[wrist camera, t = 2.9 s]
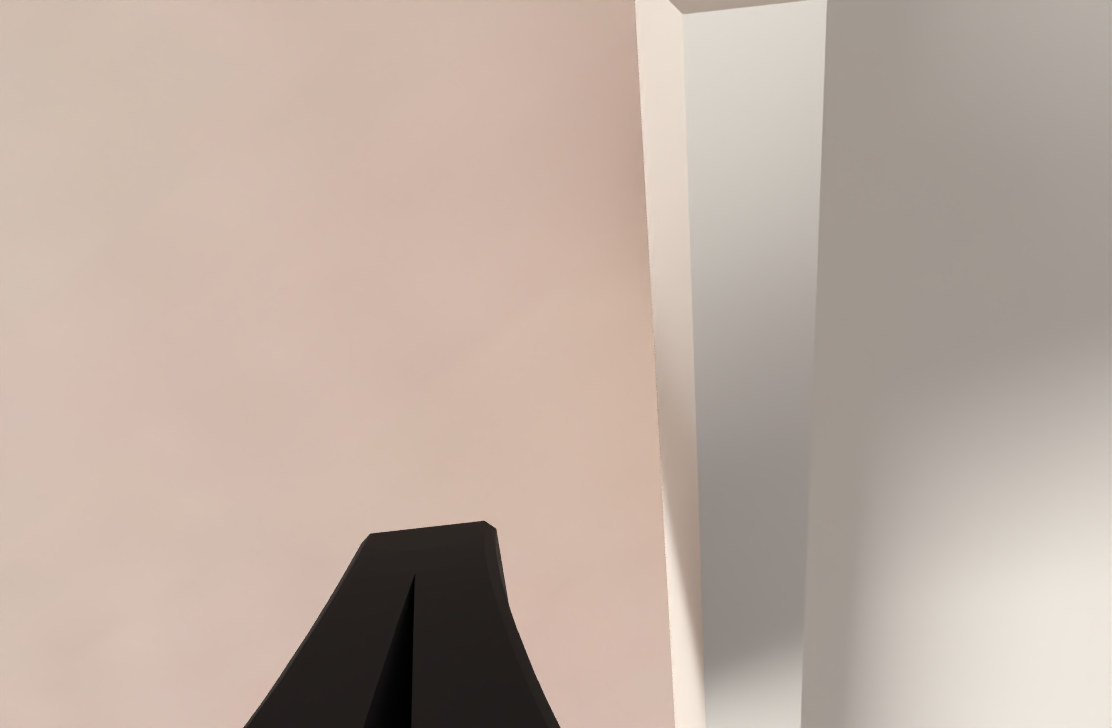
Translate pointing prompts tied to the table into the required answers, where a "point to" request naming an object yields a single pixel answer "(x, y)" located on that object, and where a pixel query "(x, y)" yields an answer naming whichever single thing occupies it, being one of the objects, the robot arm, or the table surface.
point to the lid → (883, 358)
